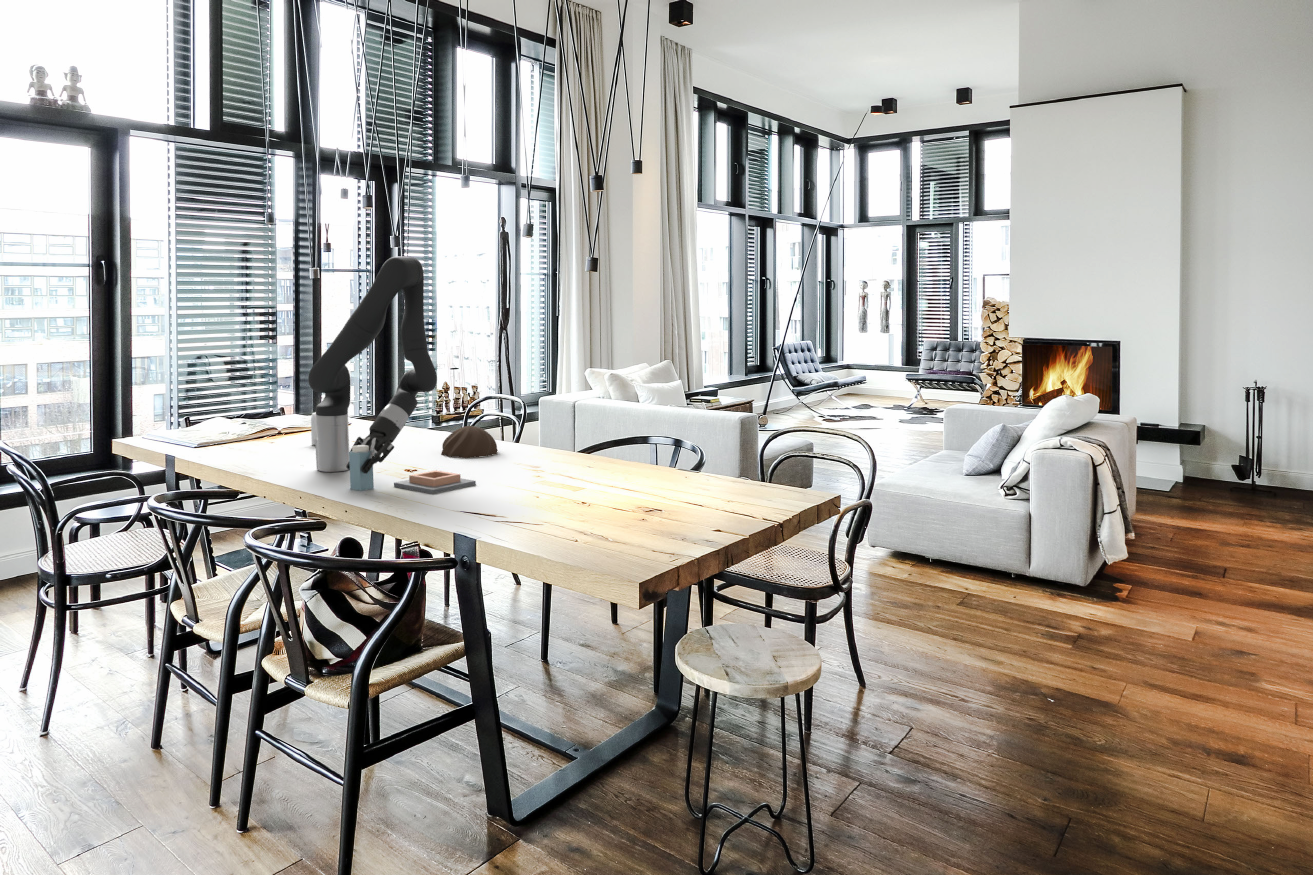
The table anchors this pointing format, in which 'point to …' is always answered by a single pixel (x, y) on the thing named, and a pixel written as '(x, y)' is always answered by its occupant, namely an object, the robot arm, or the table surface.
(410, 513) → the table surface
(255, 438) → the table surface
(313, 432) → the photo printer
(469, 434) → the decorative dome
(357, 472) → the ball-topped blue post
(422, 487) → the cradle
